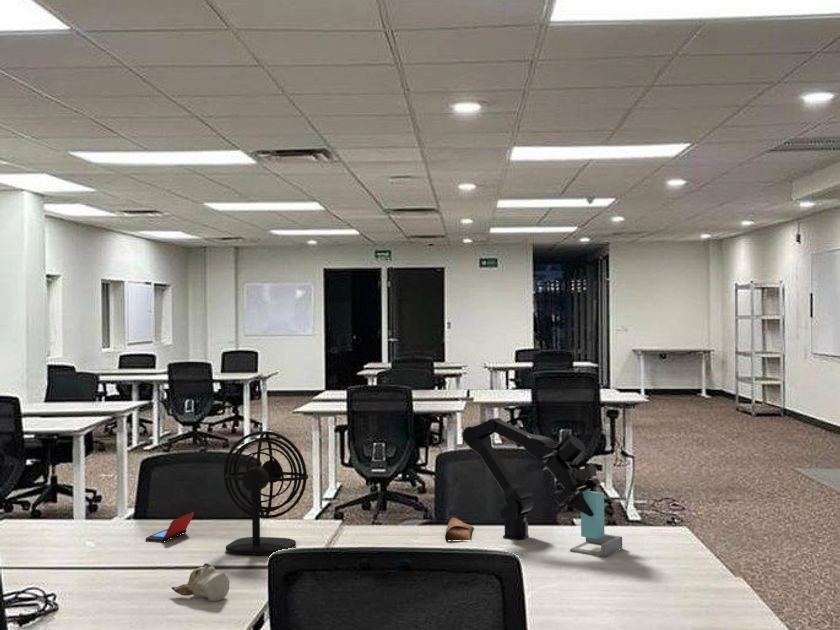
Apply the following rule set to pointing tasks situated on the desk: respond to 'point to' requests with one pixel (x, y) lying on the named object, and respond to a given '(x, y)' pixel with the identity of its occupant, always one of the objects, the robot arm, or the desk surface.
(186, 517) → the handheld game console
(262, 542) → the desk fan
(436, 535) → the desk surface
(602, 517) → the block
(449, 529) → the sunglasses case
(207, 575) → the ceramic sculpture
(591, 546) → the tray
